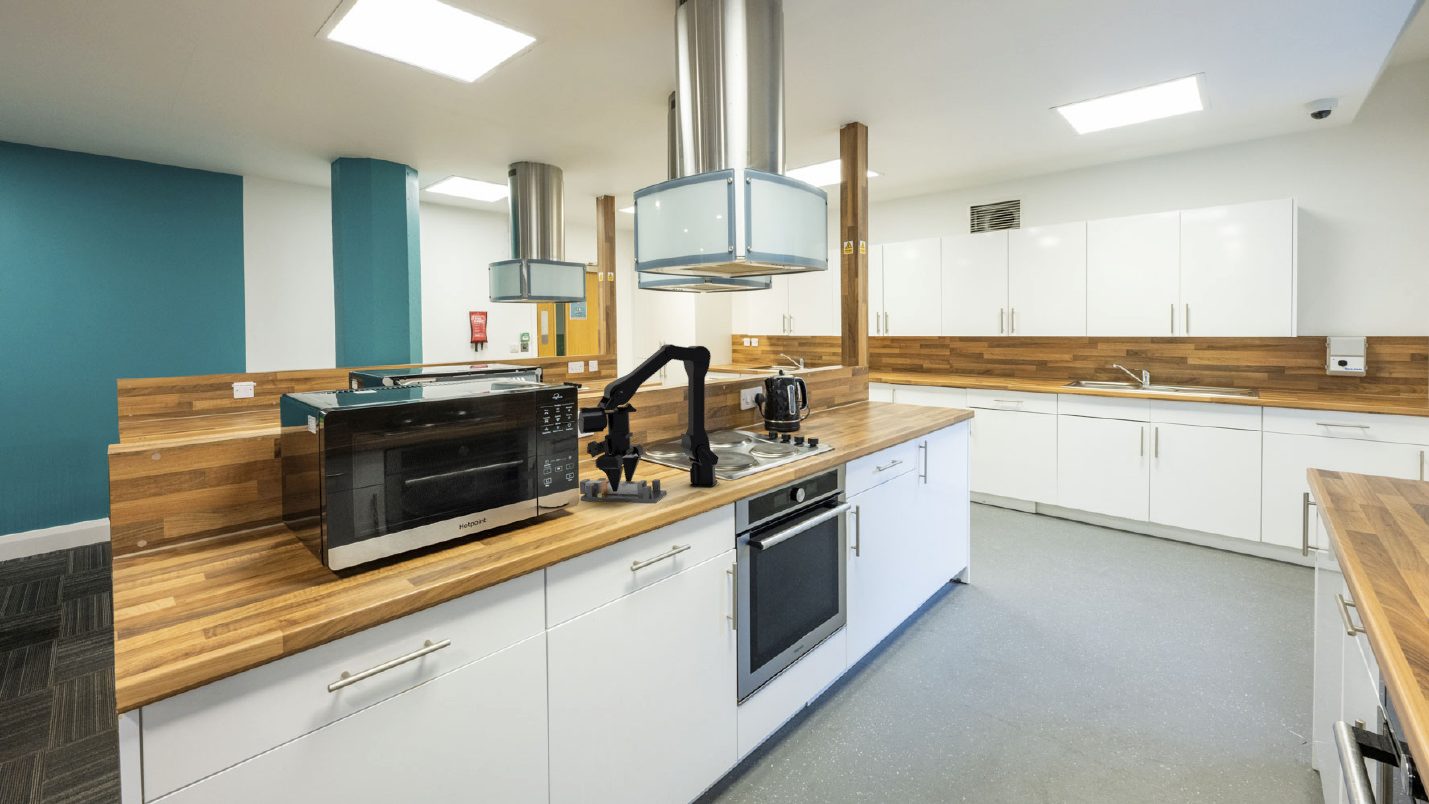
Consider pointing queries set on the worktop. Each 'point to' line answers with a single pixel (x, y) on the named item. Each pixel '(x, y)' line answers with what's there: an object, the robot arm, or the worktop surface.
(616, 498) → the cradle
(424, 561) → the worktop surface
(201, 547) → the worktop surface
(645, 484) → the tube
